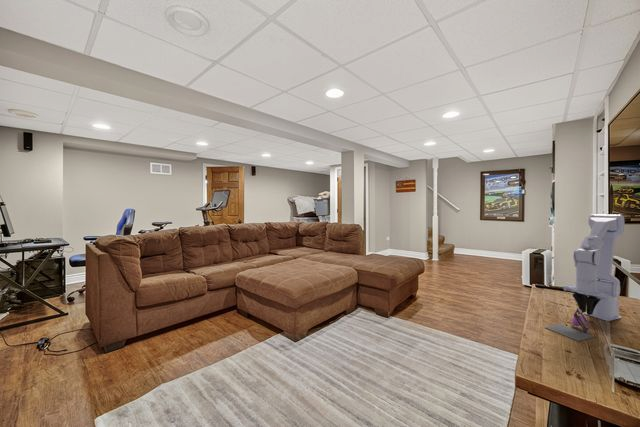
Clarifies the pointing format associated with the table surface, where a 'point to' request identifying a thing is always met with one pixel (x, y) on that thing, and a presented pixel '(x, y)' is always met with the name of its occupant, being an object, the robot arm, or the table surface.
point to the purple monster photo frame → (579, 320)
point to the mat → (570, 332)
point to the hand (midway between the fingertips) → (586, 313)
